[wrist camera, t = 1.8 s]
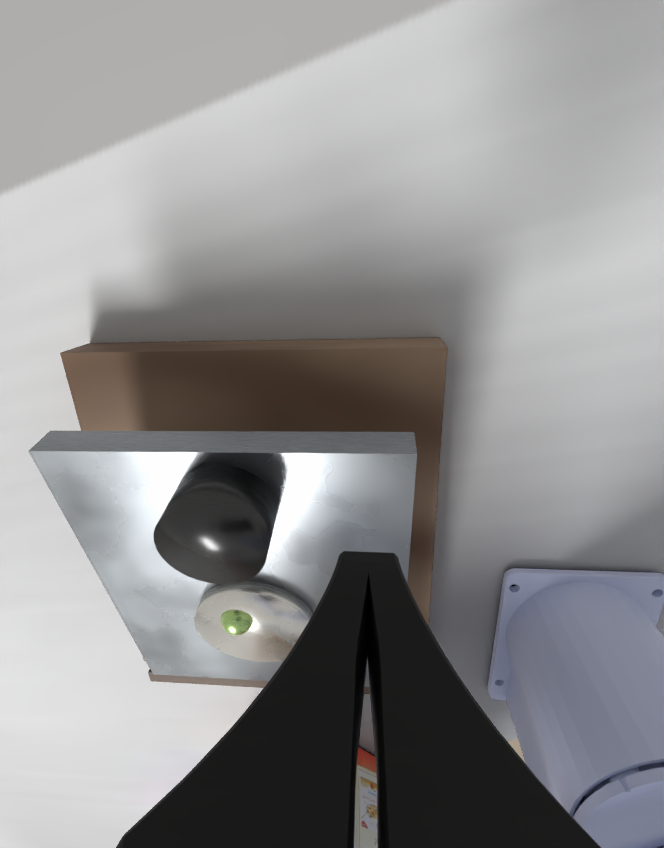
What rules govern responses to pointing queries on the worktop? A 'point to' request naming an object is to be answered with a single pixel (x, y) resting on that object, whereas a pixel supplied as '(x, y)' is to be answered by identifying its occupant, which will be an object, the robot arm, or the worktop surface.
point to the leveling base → (276, 406)
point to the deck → (300, 545)
